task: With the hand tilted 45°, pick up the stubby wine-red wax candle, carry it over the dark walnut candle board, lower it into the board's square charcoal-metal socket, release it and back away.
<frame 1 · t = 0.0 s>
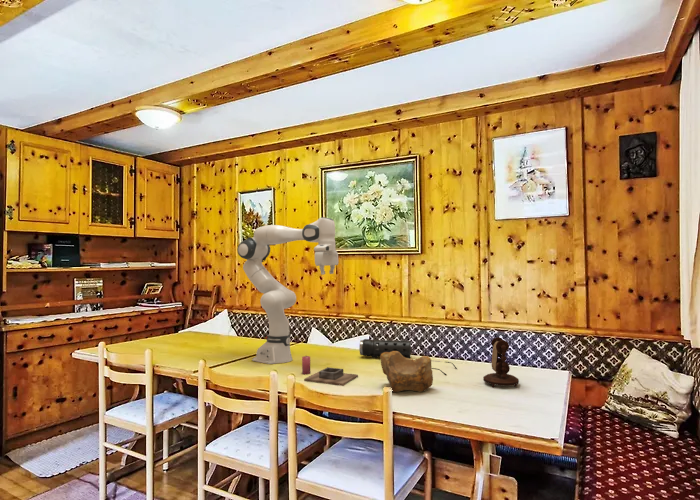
hand: (327, 274, 232), 48 cm above the table, tool pointing down, fingers open, 8 cm apart
candle board: (331, 378, 205), on the table
dark brown ornamental stand: (500, 384, 193), on the table
muzzle brake: (385, 358, 247), on the table
candle: (306, 373, 216), on the table
eyeglasses: (434, 371, 220), on the table
rough brown rock: (403, 390, 187), on the table
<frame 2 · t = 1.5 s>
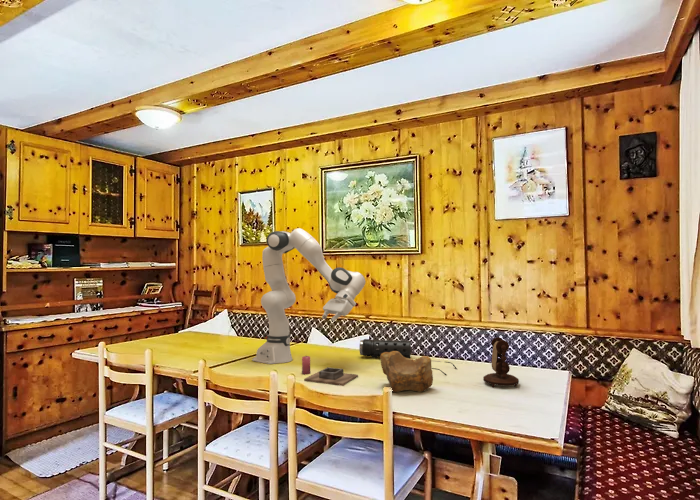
hand: (327, 319, 223), 25 cm above the table, tool tilted 45°, fingers open, 8 cm apart
nothing on the table moved.
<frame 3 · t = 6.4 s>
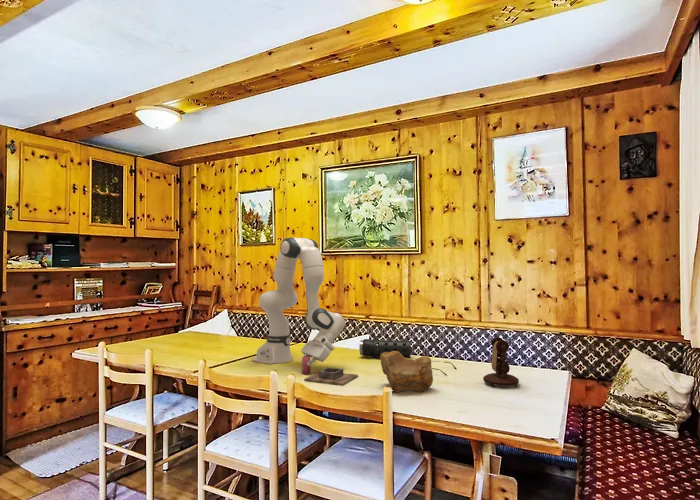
hand: (305, 364, 216), 5 cm above the table, tool tilted 45°, fingers closed on candle, 4 cm apart
candle: (306, 373, 216), on the table, touching gripper
everything else where it was.
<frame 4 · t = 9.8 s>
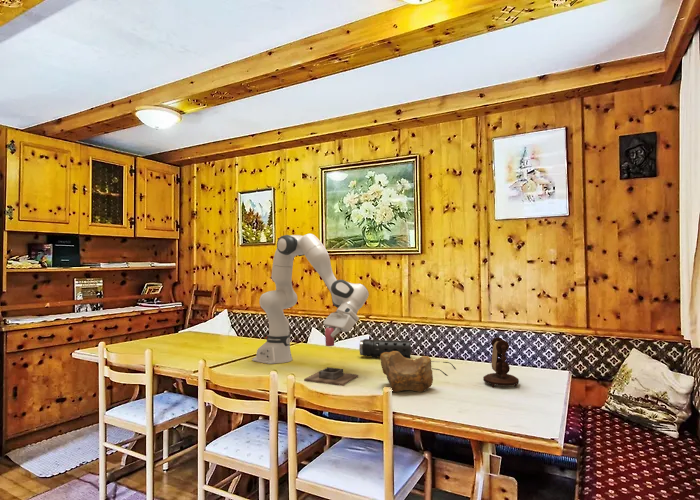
hand: (328, 335, 206), 20 cm above the table, tool tilted 45°, fingers closed on candle, 4 cm apart
candle: (329, 345, 206), point 15 cm above the table, touching gripper
everything else where it was.
when the fingers open (7 cm above the table, at t = 13.3 s): candle drops 1 cm, resting on candle board.
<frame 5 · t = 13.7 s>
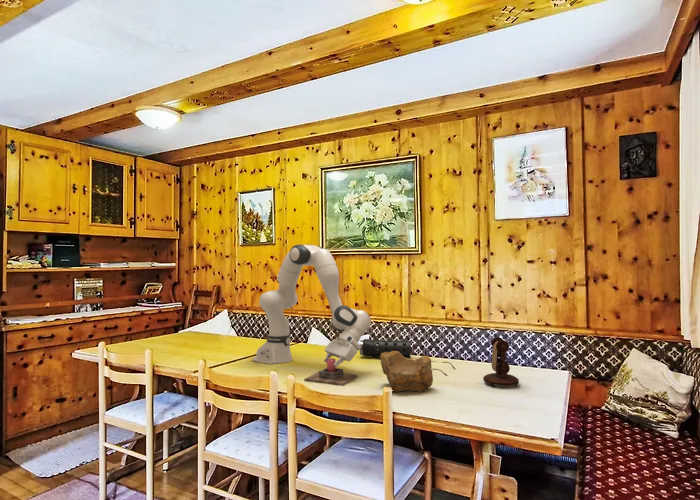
hand: (330, 363, 205), 7 cm above the table, tool tilted 45°, fingers open, 8 cm apart
candle: (331, 376, 206), point 1 cm above the table, touching candle board
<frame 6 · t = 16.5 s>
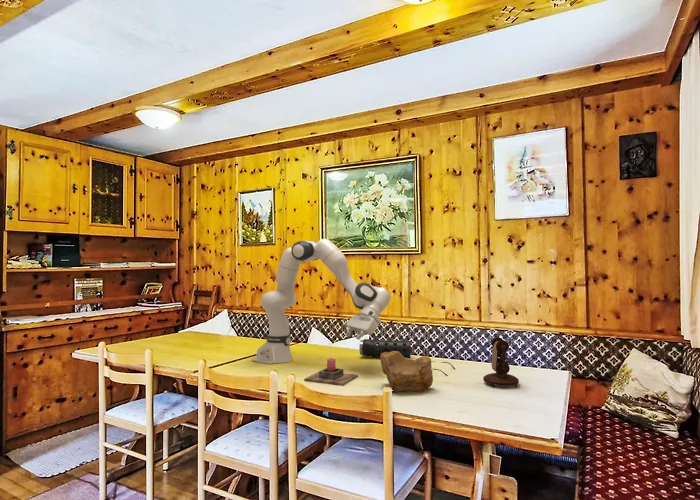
hand: (351, 337, 214), 18 cm above the table, tool tilted 45°, fingers open, 8 cm apart
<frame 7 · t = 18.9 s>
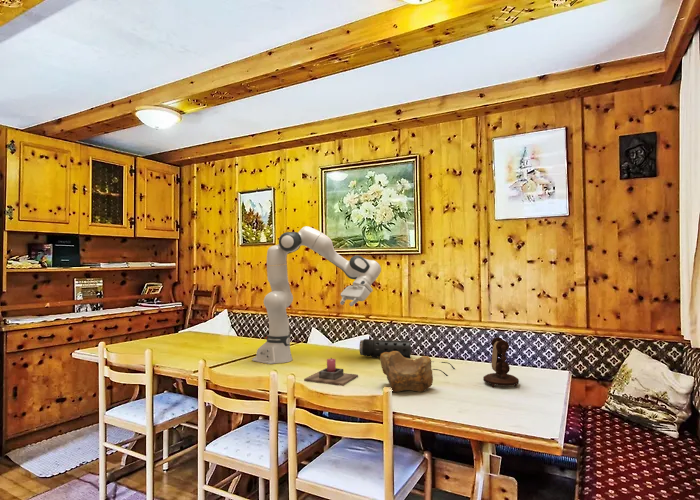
hand: (345, 304, 235), 31 cm above the table, tool tilted 45°, fingers open, 8 cm apart
at the end: candle 0.0 cm off-centre on the candle board, point 1.0 cm above the candle board's base; candle tilted 0°; the gripper is holding nothing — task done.
